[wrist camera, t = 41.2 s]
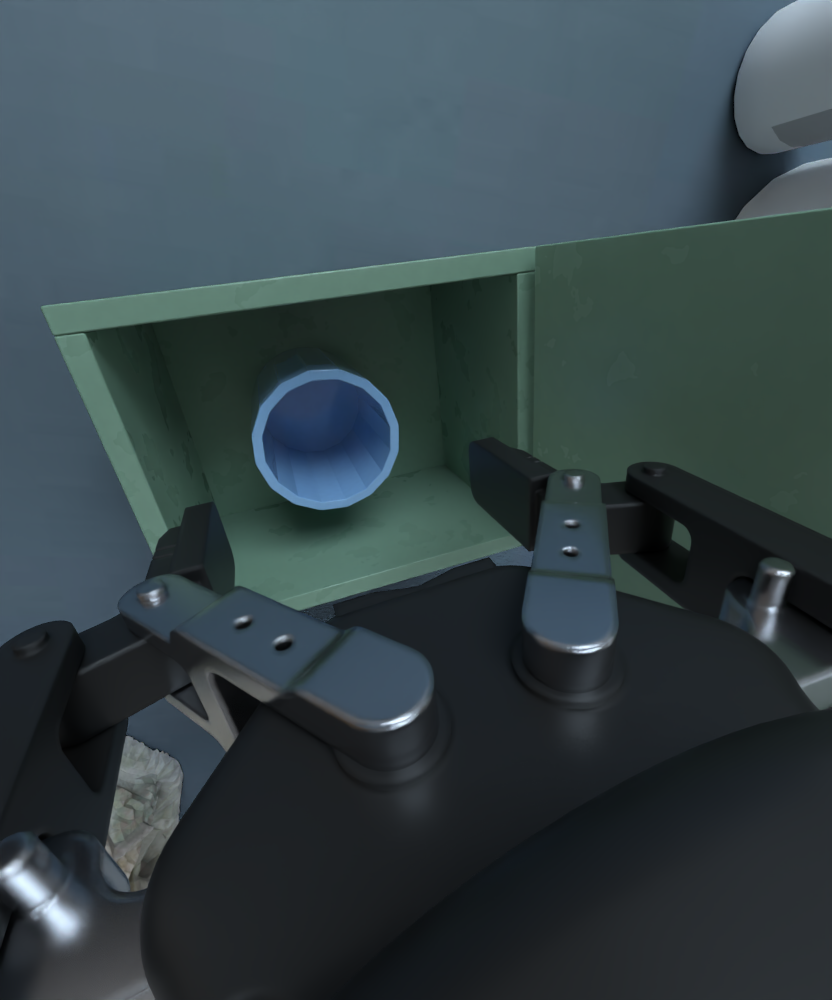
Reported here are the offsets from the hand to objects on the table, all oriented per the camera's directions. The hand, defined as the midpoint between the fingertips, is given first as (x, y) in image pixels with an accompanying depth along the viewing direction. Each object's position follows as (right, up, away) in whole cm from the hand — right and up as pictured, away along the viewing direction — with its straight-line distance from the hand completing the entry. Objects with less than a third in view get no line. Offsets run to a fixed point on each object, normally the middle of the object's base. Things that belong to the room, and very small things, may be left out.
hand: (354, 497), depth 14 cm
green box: (-4, +6, +12) cm, 14 cm away
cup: (-4, +5, +11) cm, 13 cm away
